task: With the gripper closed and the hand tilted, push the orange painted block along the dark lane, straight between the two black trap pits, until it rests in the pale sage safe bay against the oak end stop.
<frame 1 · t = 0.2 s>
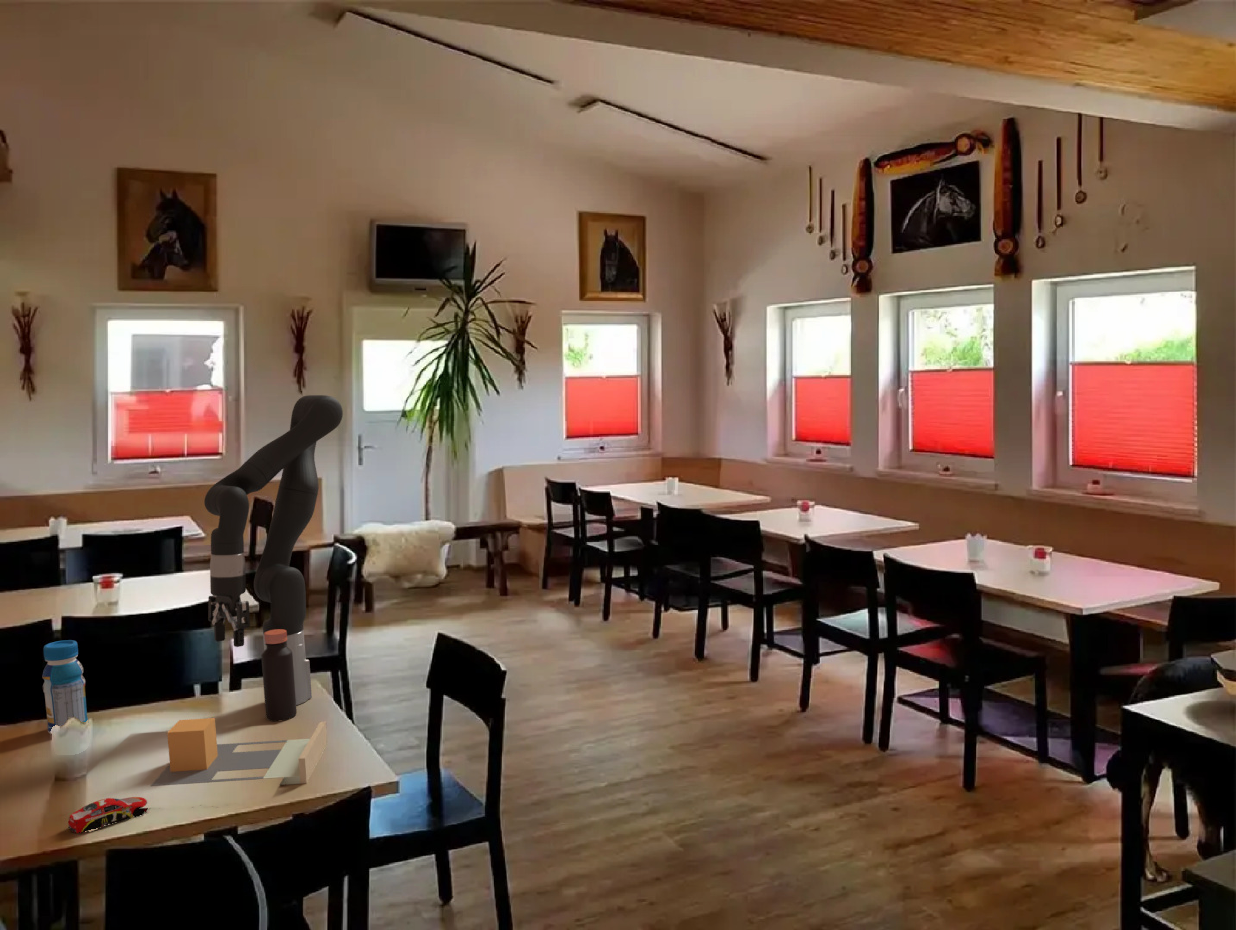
hand: (229, 643, 233), 18 cm above the table, tool pointing down, fingers open, 8 cm apart
race car: (110, 822, 184), on the table
beverage bottle: (68, 730, 232), on the table
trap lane: (240, 767, 206), on the table
orange block: (194, 763, 206), point 1 cm above the table, touching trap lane
vinegar: (281, 717, 236), on the table
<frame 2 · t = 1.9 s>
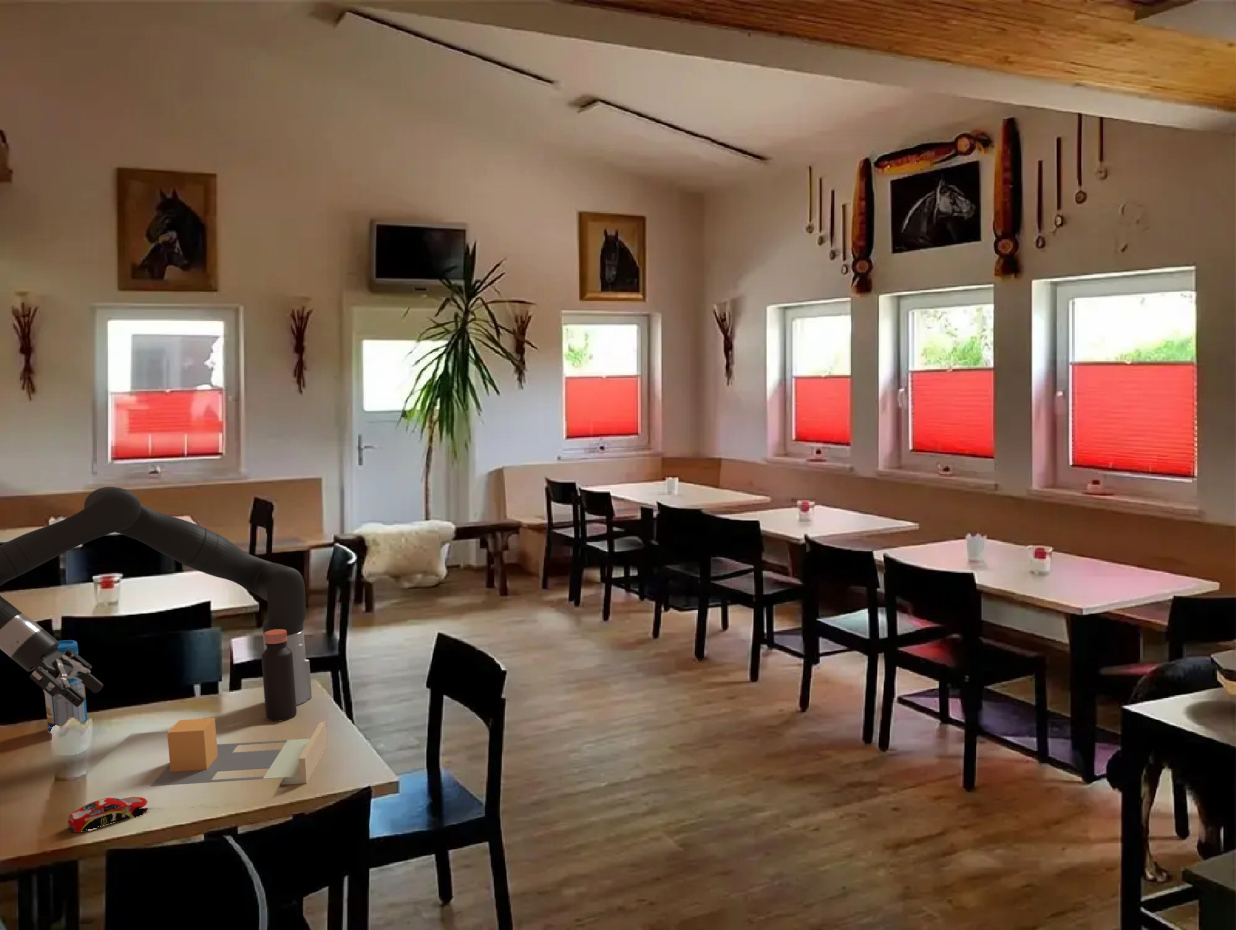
hand: (91, 696, 202), 17 cm above the table, tool tilted 45°, fingers open, 8 cm apart
nothing on the table moved.
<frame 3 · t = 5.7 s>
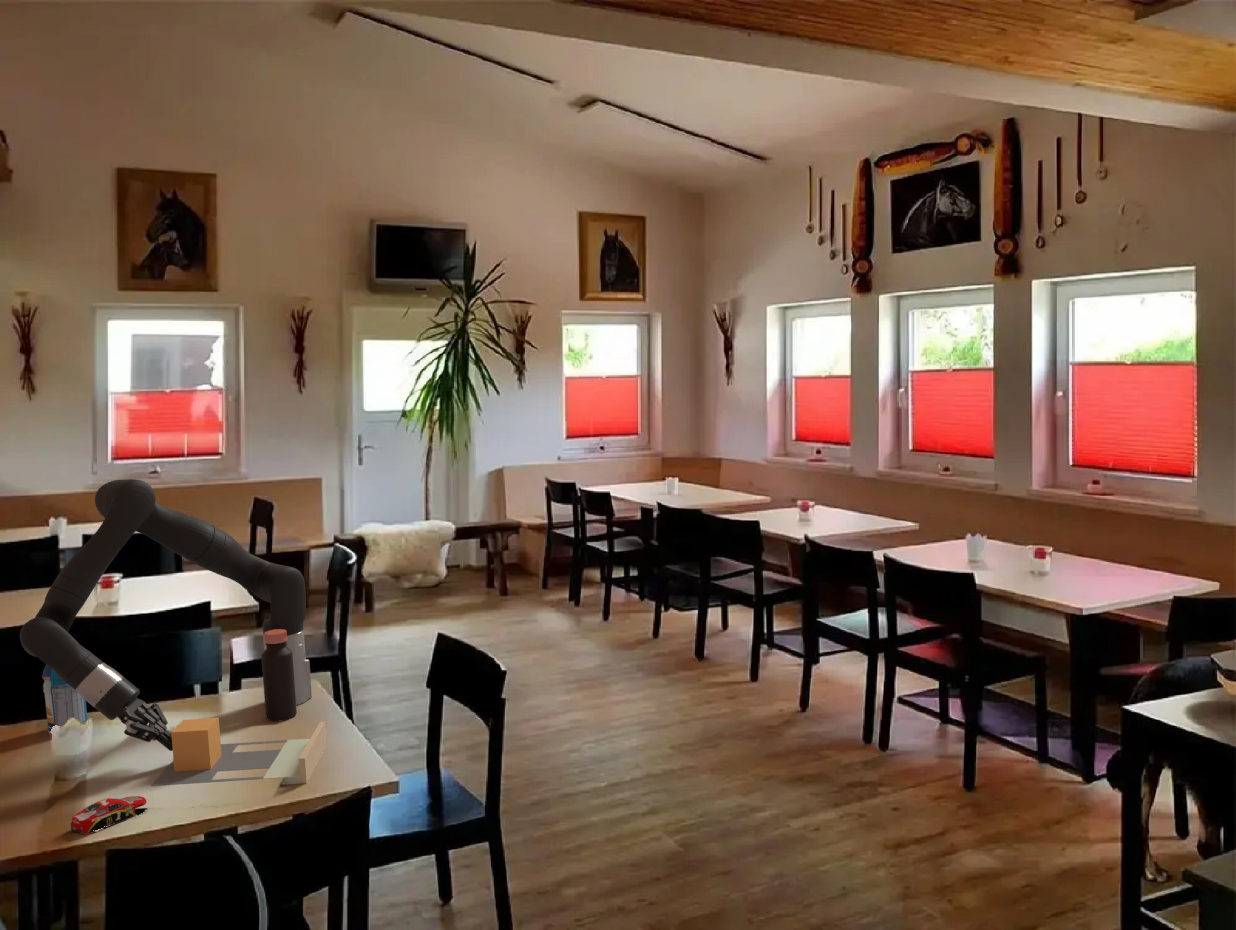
hand: (176, 746, 205), 5 cm above the table, tool tilted 45°, fingers closed
orange block: (198, 763, 206), point 2 cm above the table, touching gripper
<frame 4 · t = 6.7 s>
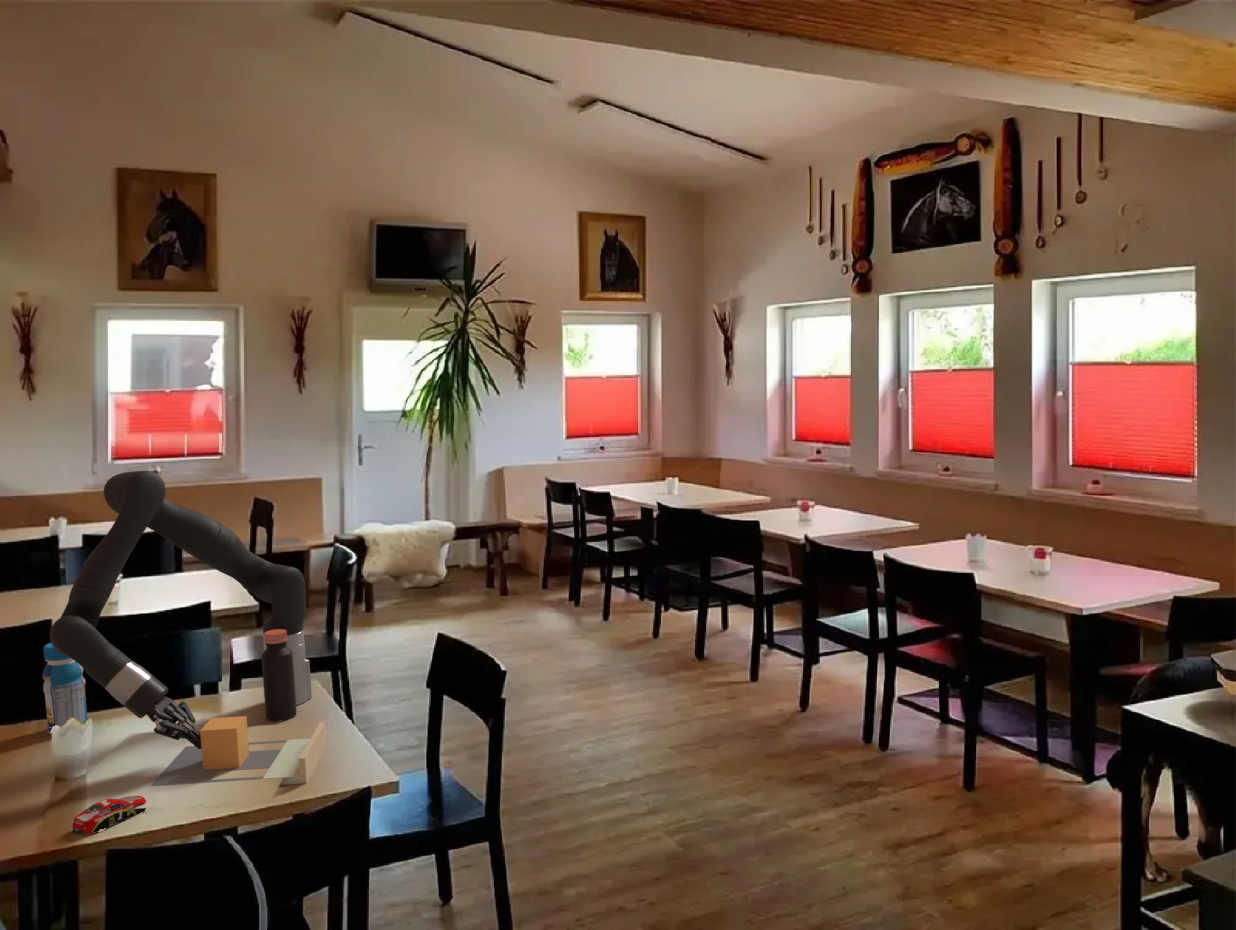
hand: (204, 744, 205), 5 cm above the table, tool tilted 45°, fingers closed
orange block: (226, 761, 206), point 1 cm above the table, touching gripper, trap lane
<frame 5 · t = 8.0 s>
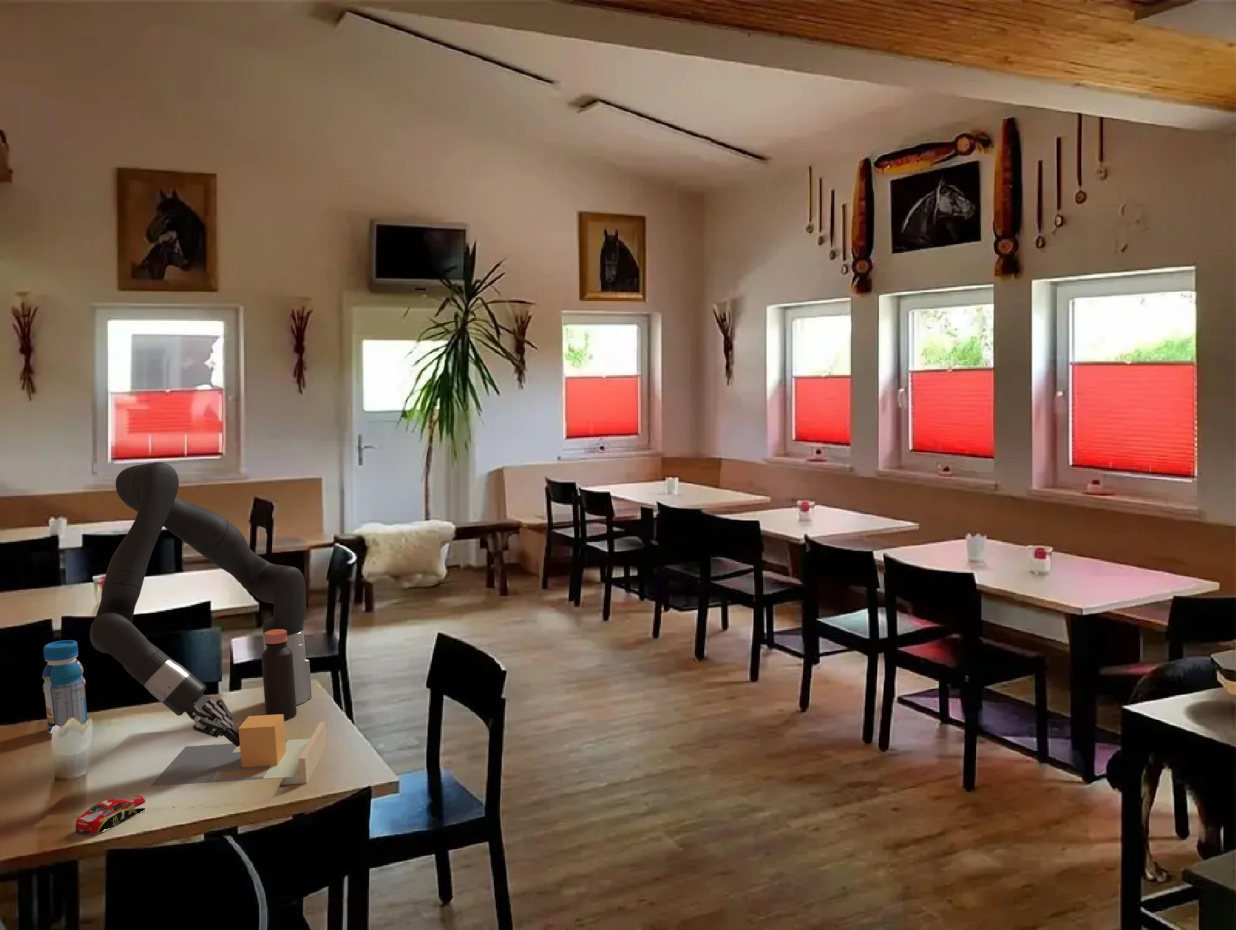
hand: (242, 742, 206), 5 cm above the table, tool tilted 45°, fingers closed
orange block: (264, 759, 206), point 2 cm above the table, touching gripper
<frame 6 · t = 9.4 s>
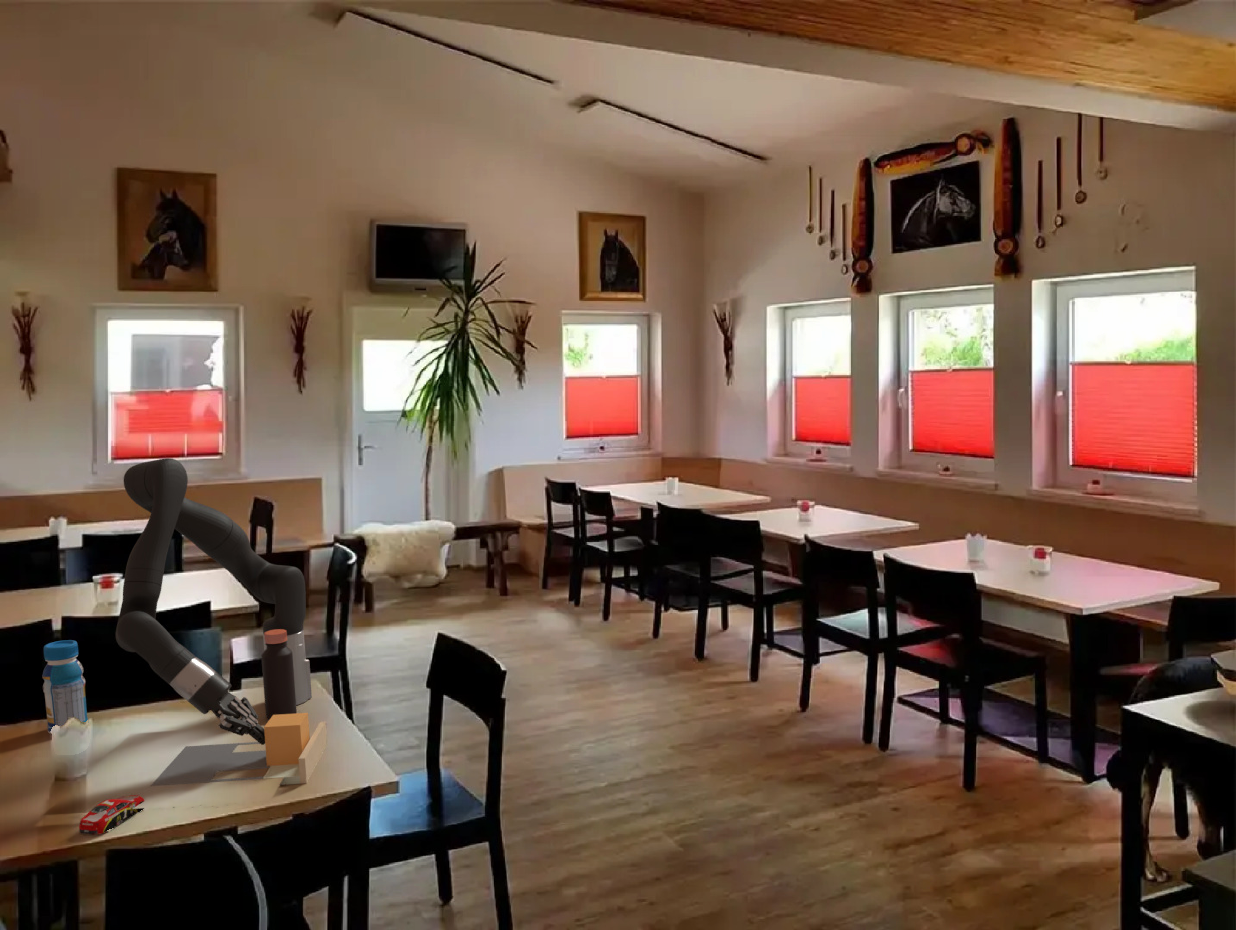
hand: (267, 740, 206), 5 cm above the table, tool tilted 45°, fingers closed
orange block: (289, 758, 207), point 1 cm above the table, touching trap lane
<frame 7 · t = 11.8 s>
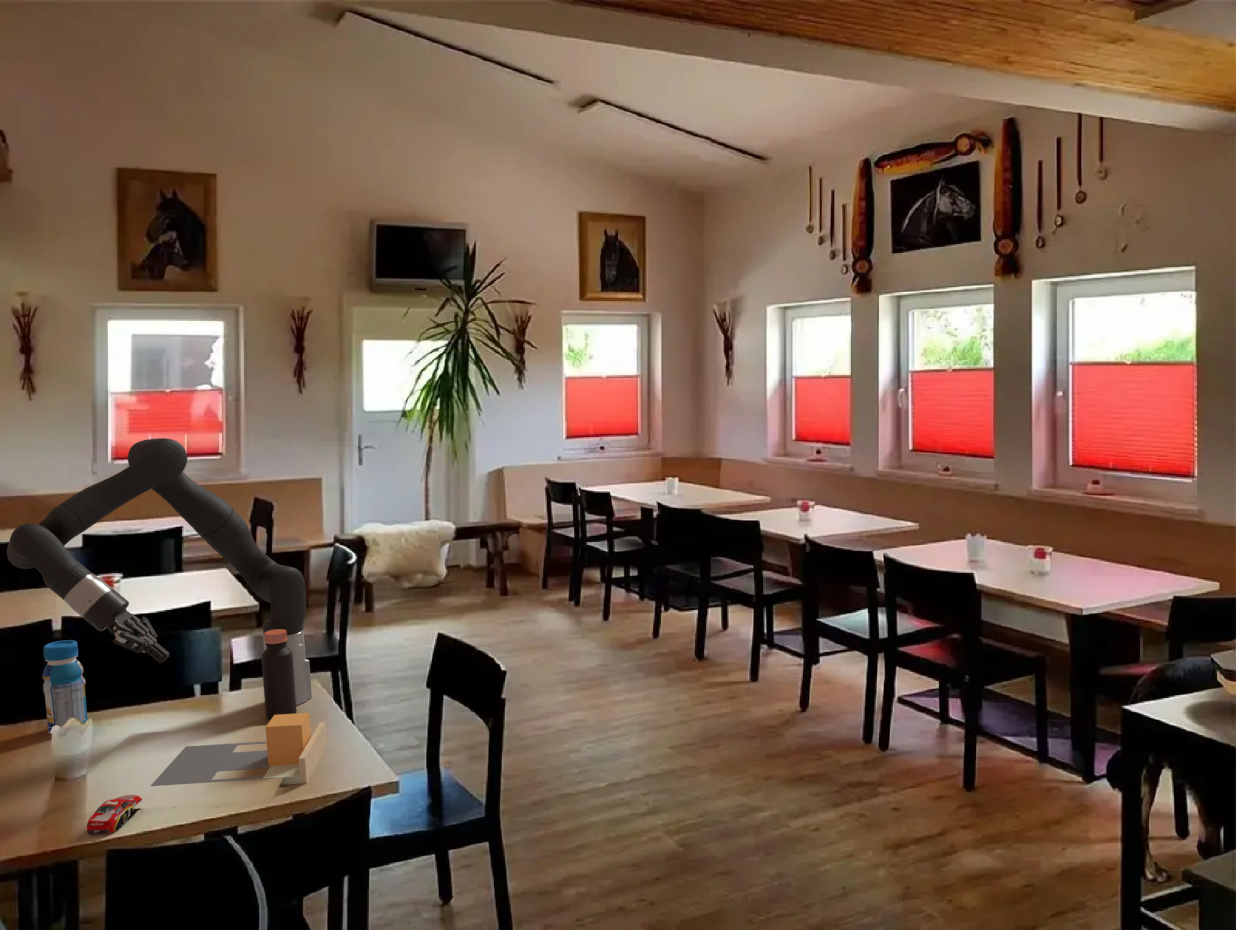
hand: (165, 659, 203), 23 cm above the table, tool tilted 45°, fingers closed
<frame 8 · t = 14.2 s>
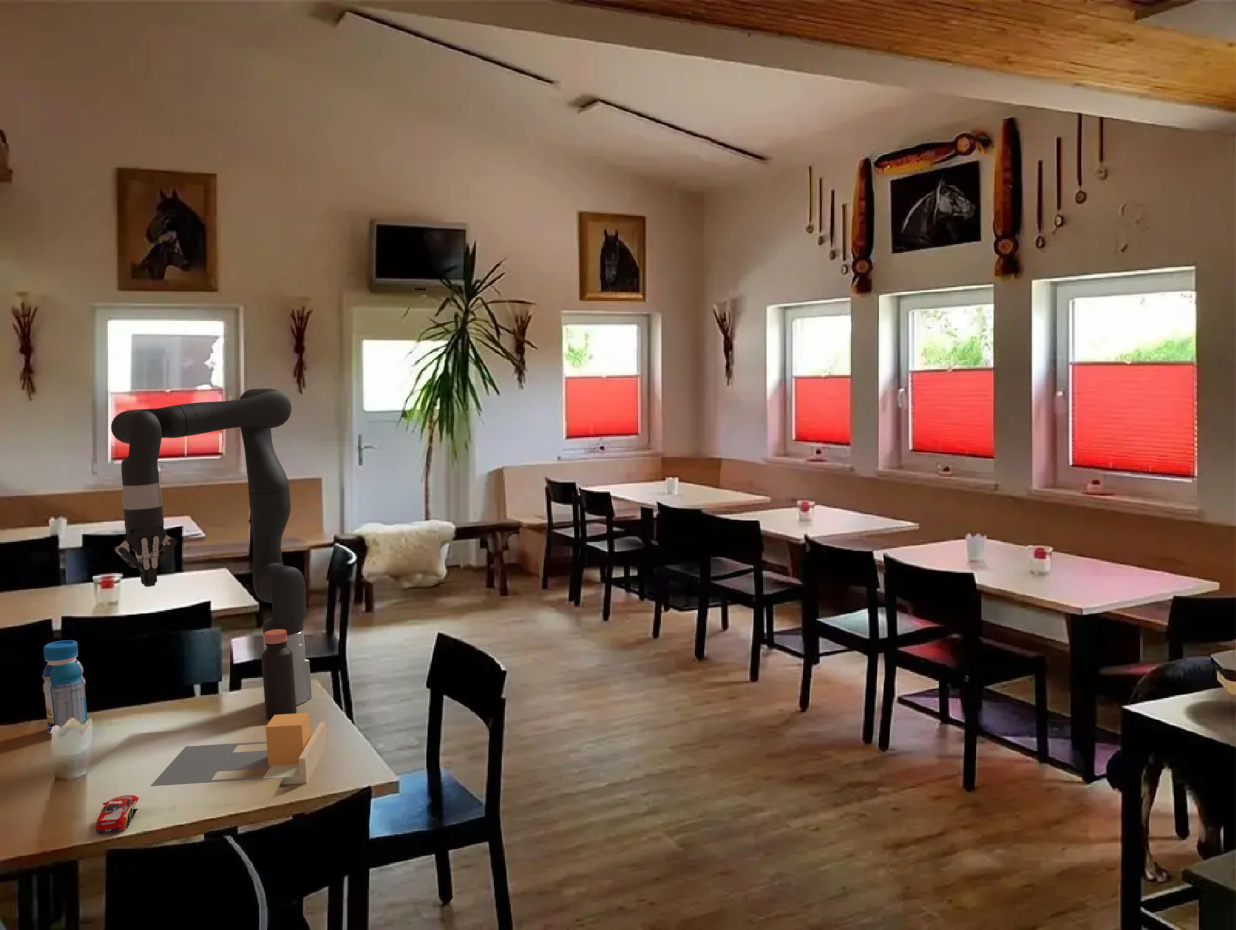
hand: (149, 585, 217), 35 cm above the table, tool pointing down, fingers closed
at the end: orange block inside the target area (1.3 cm from its centre), point 1.5 cm above the table; orange block tilted 0° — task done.
